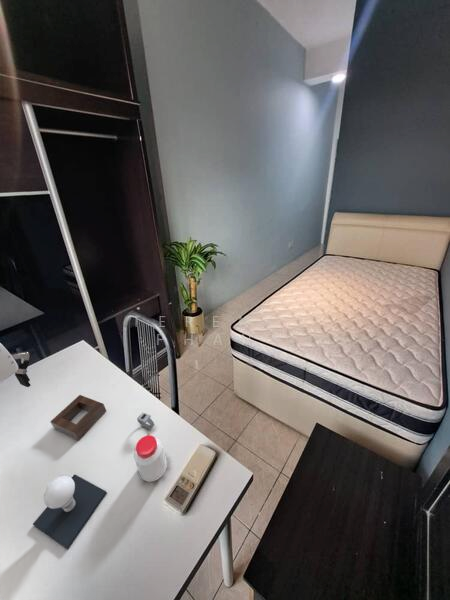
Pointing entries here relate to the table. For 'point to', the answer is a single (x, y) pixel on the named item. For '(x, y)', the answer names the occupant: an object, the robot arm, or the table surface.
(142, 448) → the pill bottle
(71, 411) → the socket block
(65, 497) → the lightbulb
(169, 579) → the table surface
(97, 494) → the mat
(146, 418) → the wristwatch
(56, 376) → the table surface
